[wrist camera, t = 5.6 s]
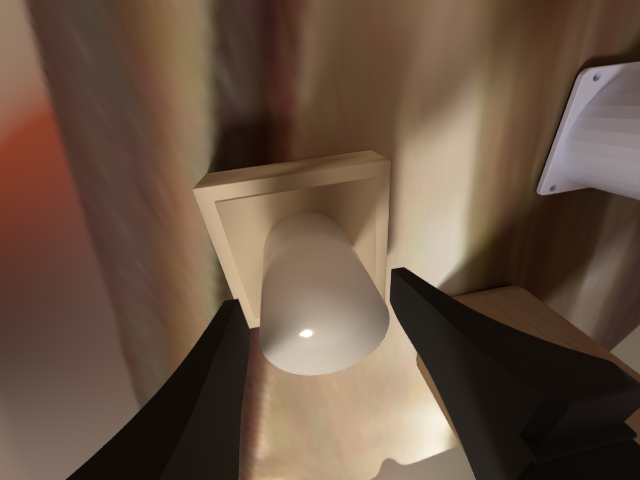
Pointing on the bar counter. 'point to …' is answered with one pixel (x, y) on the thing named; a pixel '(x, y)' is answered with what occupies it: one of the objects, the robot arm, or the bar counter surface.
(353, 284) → the white rounded cylinder
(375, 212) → the base
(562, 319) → the wooden block
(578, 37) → the bar counter surface
